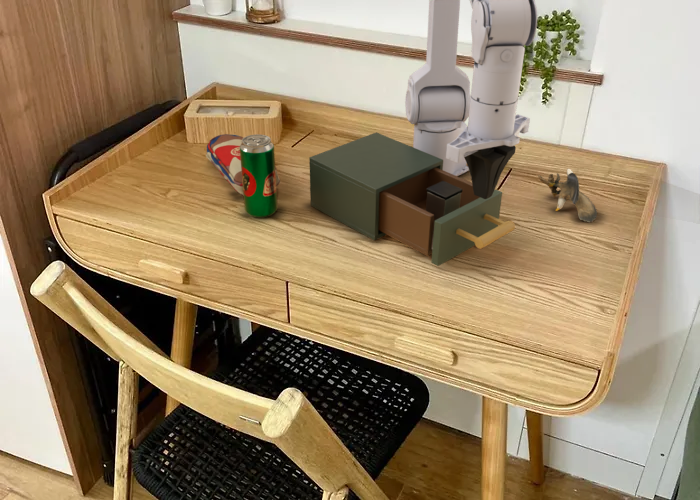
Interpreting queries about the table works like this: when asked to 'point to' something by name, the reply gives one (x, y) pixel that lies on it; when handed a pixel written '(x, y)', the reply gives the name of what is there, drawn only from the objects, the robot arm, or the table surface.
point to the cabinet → (363, 178)
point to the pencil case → (229, 159)
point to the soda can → (258, 175)
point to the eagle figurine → (571, 195)
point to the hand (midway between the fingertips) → (482, 195)
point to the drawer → (450, 230)
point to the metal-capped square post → (442, 199)
